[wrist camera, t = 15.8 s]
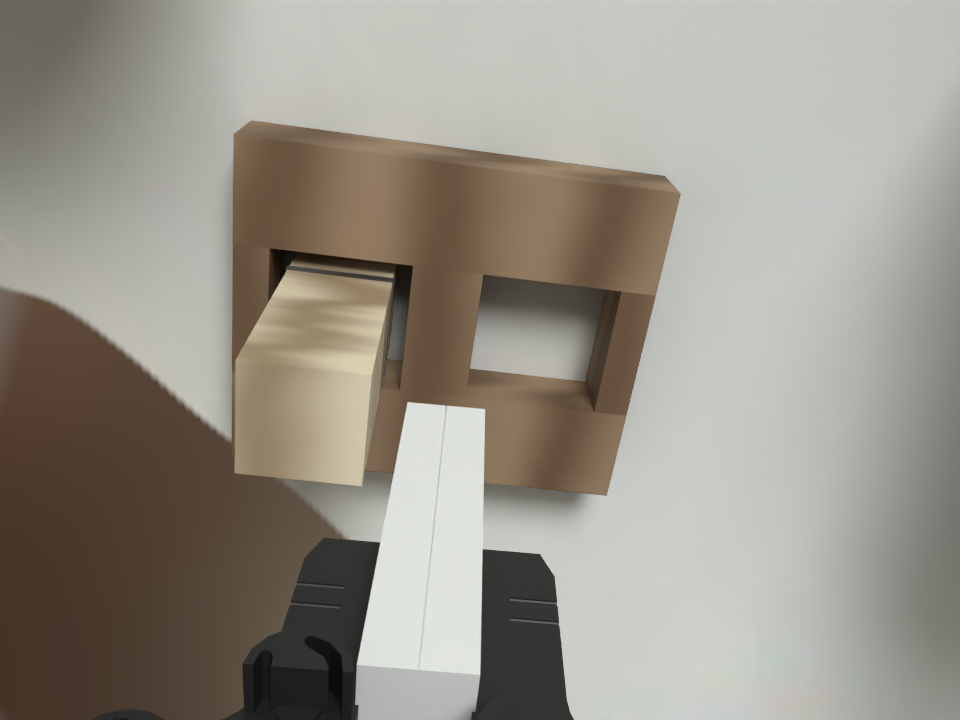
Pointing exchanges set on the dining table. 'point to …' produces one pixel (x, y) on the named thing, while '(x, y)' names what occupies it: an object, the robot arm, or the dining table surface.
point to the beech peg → (315, 371)
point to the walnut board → (464, 277)
